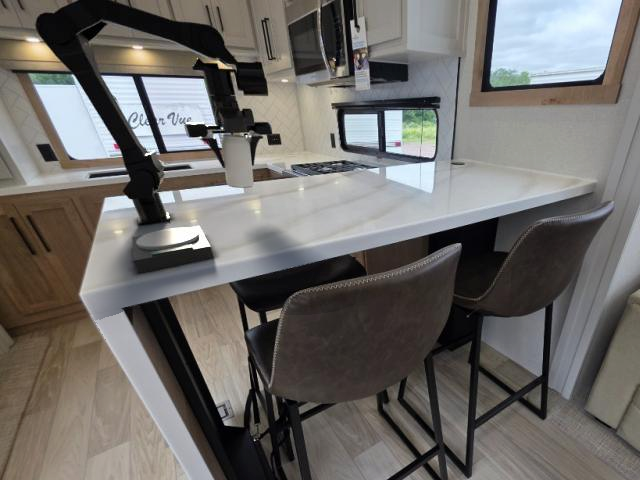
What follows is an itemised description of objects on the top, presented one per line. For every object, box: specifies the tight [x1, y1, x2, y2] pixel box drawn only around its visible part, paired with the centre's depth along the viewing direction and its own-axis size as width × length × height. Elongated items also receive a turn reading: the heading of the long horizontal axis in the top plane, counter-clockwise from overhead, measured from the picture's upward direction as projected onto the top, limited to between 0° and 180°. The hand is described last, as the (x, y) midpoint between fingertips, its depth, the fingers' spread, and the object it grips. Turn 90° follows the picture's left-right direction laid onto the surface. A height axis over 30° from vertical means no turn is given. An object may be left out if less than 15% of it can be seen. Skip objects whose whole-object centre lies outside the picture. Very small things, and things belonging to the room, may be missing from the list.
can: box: [220, 133, 255, 189], centre depth 84 cm, size 6×6×12 cm
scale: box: [131, 225, 215, 274], centre depth 64 cm, size 14×12×3 cm
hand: (238, 166), depth 85 cm, fingers closed on can, 7 cm apart
